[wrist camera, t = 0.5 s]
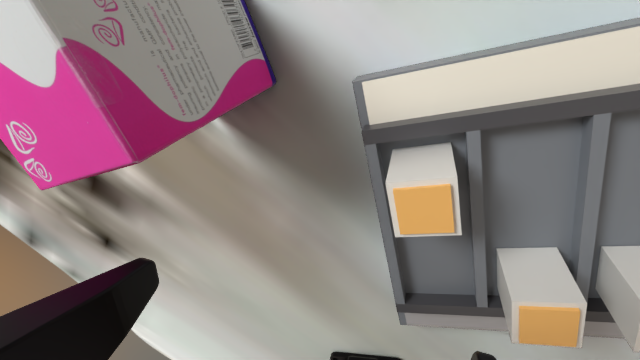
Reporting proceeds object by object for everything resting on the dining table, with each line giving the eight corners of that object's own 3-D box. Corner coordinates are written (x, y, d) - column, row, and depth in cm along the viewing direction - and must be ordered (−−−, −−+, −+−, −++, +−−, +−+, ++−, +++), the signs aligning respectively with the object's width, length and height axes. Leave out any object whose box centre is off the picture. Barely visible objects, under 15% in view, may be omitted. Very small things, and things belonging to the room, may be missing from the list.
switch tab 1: (454, 191, 18) (462, 237, 15) (400, 196, 19) (394, 239, 16) (450, 142, 17) (457, 179, 14) (392, 149, 18) (385, 185, 15)
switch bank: (667, 320, 20) (696, 357, 18) (401, 308, 26) (399, 336, 23) (756, -7, 13) (822, -9, 11) (357, 76, 18) (348, 86, 16)
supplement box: (161, 21, 20) (-86, 40, 10) (238, -20, 18) (15, -45, 8) (205, 111, 22) (34, 196, 12) (280, 84, 20) (142, 164, 10)
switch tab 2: (554, 287, 19) (583, 351, 16) (497, 286, 20) (512, 346, 17) (556, 247, 18) (589, 306, 15) (496, 248, 19) (512, 304, 16)
